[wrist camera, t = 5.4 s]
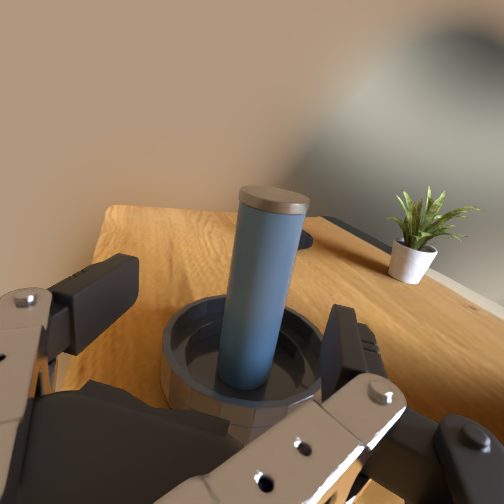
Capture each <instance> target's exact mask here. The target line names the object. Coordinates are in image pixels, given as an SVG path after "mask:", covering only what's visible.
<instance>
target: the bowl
mask: <svg viewBox="0 0 504 504" xmlns="http://www.w3.org/2000/svg"><path fill="white" fill-rule="evenodd" d="M225 302H226V295H219V296H212V297H206V298H202V299H200V300H197V301H195V302H192V303H190V304H187V305H186V306H184V307H183V308H182V309H180V310H179V311H178V312H176V313H175V314H174V315H173V316H172V317H171V319H170V320H169V322H168V324H167V325H166V327H165V329H164V331H163V342H162V360H161V378H160V382H161V383H160V384H161V386H162V389H163V391H164V394H165V396H166V399H167V402H168V404H169V405H170V406H171V407H172V409H183V410H195V411H199V412H202V413H206V414H209V415H213V416H216V417H219V418H223V419H226V420H230V425H229V431H228V434H229V435H231V436H232V437H234V438H235V439H236V440H238V441H239V442H240V443H242V444H243V445H246V446H247V445H248V444H250V443H251V442H252V441H254V440H255V439H257V438H258V437H259V436H261V435H262V434H263V433H265V432H266V431H267V430H269V429H270V428H271V427H273V426H274V425H275V424H277V423H278V422H280V421H281V420H282V419H284V418H285V417H286V416H288V415H289V414H290V413H292V412H293V411H294V410H296V409H297V408H298V407H300V406H301V405H303V404H304V403H305V402H307V401H308V400H311V399H314V400H316V401H317V402H318V403H319V404H321V401H322V395H321V356H320V353H321V344H322V340H323V335H322V333H321V332H320V330H319V329H318V328H317V327H316V326H315V325H314V324H312V323H311V322H310V321H309V320H308V319H307V318H305V317H304V316H303V315H301V314H299V313H298V312H296V311H294V310H292V309H291V308H289V307H287V306H285V308H284V312H283V317H282V321H281V326H280V330H279V335H278V339H277V343H276V348H275V352H274V357H273V361H272V366H271V370H270V375H269V378H268V380H267V381H266V383H265V384H264V385H262V386H261V387H259V388H256V389H252V390H240V389H236V388H233V387H231V386H229V385H227V384H226V383H225V382H223V381H222V380H221V378H220V377H219V375H218V373H217V368H216V366H217V359H218V352H219V345H220V338H221V331H222V324H223V316H224V309H225Z"/></svg>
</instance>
